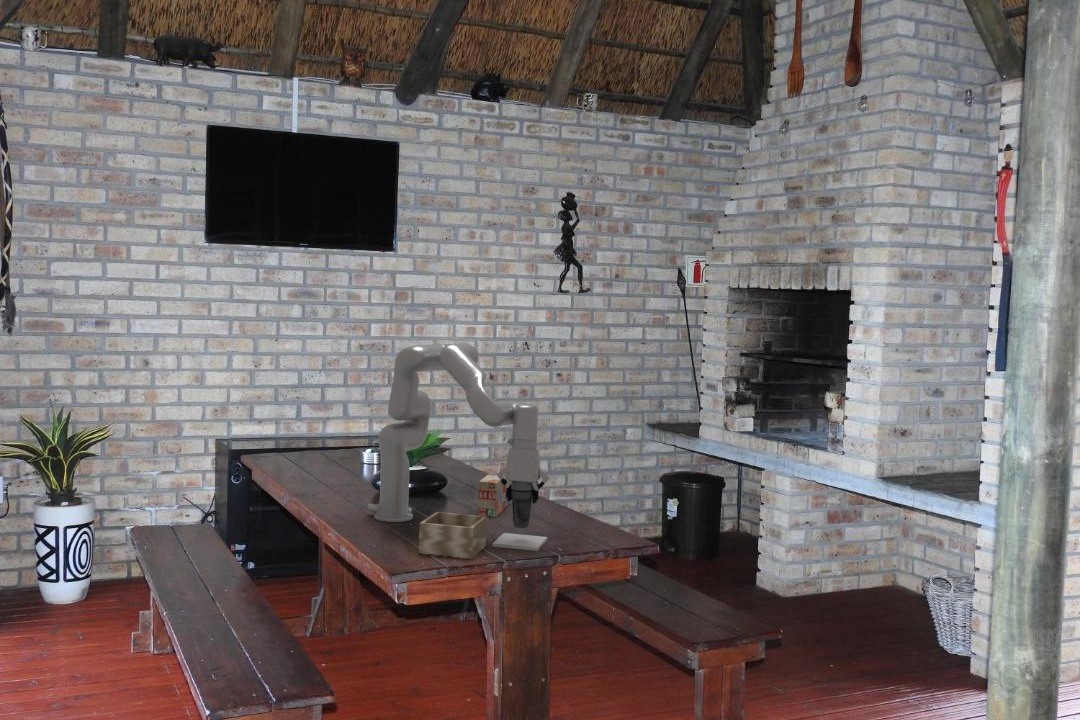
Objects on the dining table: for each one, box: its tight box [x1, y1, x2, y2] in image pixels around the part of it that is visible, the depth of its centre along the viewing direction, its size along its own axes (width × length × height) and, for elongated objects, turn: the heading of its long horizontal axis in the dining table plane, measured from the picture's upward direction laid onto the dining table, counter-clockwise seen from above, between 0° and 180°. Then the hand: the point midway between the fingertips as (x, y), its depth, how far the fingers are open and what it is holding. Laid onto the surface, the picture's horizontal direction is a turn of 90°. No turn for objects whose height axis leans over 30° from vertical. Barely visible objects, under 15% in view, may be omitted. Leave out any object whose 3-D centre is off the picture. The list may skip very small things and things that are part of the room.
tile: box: [492, 532, 548, 552], centre depth 333 cm, size 14×14×1 cm
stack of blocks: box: [477, 474, 510, 518], centre depth 377 cm, size 21×6×12 cm, turn 170°
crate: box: [418, 511, 488, 560], centre depth 321 cm, size 16×16×9 cm
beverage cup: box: [511, 481, 534, 529], centre depth 332 cm, size 7×7×20 cm
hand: (522, 501), depth 332 cm, fingers closed on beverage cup, 7 cm apart
